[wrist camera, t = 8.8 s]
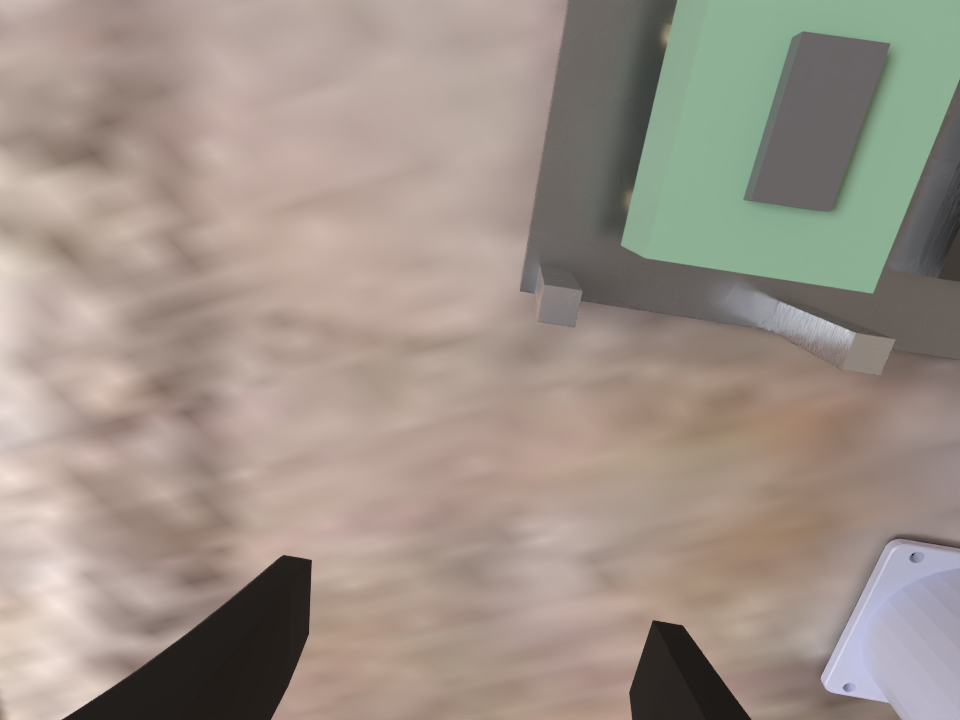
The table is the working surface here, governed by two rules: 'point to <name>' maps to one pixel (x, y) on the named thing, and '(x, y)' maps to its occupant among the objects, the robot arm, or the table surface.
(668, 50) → the green block
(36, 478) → the table surface
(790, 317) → the chassis
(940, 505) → the table surface
